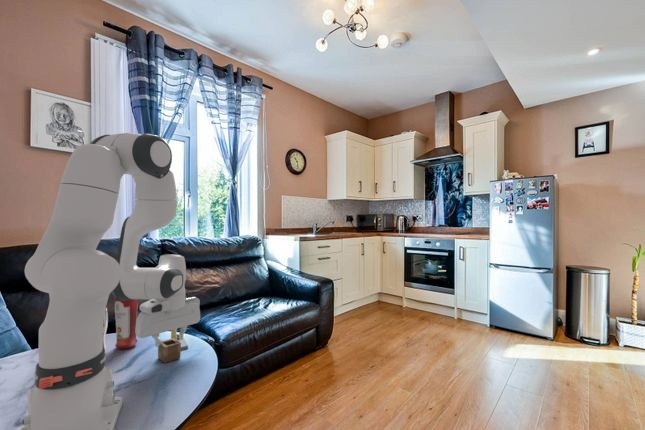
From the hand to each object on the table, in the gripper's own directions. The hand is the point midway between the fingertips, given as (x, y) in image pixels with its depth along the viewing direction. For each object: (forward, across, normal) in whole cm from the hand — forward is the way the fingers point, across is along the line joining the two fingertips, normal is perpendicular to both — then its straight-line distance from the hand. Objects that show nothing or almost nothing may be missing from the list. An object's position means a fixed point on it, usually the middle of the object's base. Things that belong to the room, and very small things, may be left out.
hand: (169, 342), depth 98 cm
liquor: (+6, +5, -22) cm, 23 cm away
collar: (+5, 0, 0) cm, 5 cm away
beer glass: (+6, +13, -26) cm, 30 cm away
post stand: (+5, -5, -8) cm, 11 cm away
